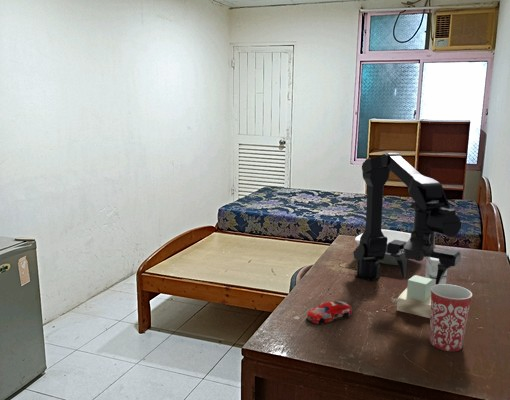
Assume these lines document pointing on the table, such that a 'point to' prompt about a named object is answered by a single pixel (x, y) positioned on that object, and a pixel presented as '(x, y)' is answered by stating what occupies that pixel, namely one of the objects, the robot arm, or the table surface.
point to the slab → (414, 305)
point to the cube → (419, 288)
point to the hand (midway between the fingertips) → (420, 281)
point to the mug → (448, 316)
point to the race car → (329, 312)
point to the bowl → (390, 236)
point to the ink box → (434, 270)
